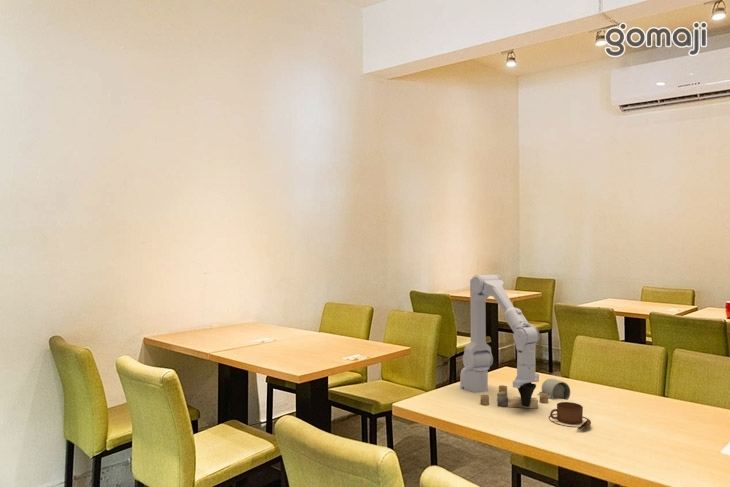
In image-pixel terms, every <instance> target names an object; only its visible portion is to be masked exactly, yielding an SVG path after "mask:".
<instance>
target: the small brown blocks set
mask: <svg viewBox="0 0 730 487" xmlns="http://www.w3.org/2000/svg"><path fill="white" fill-rule="evenodd" d="M539 393H540V392H539ZM498 396H508V386H507V385H502V384H501V385H498V393H497V394H496V397H497V398H496V402H498ZM479 399H480V400H479V401H480V402H479V403H480V405H481V406H485V407H486V406H489V405H490V396H489V395H487V394H480V397H479ZM539 403H540V404H549V399H548V394H547V393H540V395H539Z"/></svg>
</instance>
